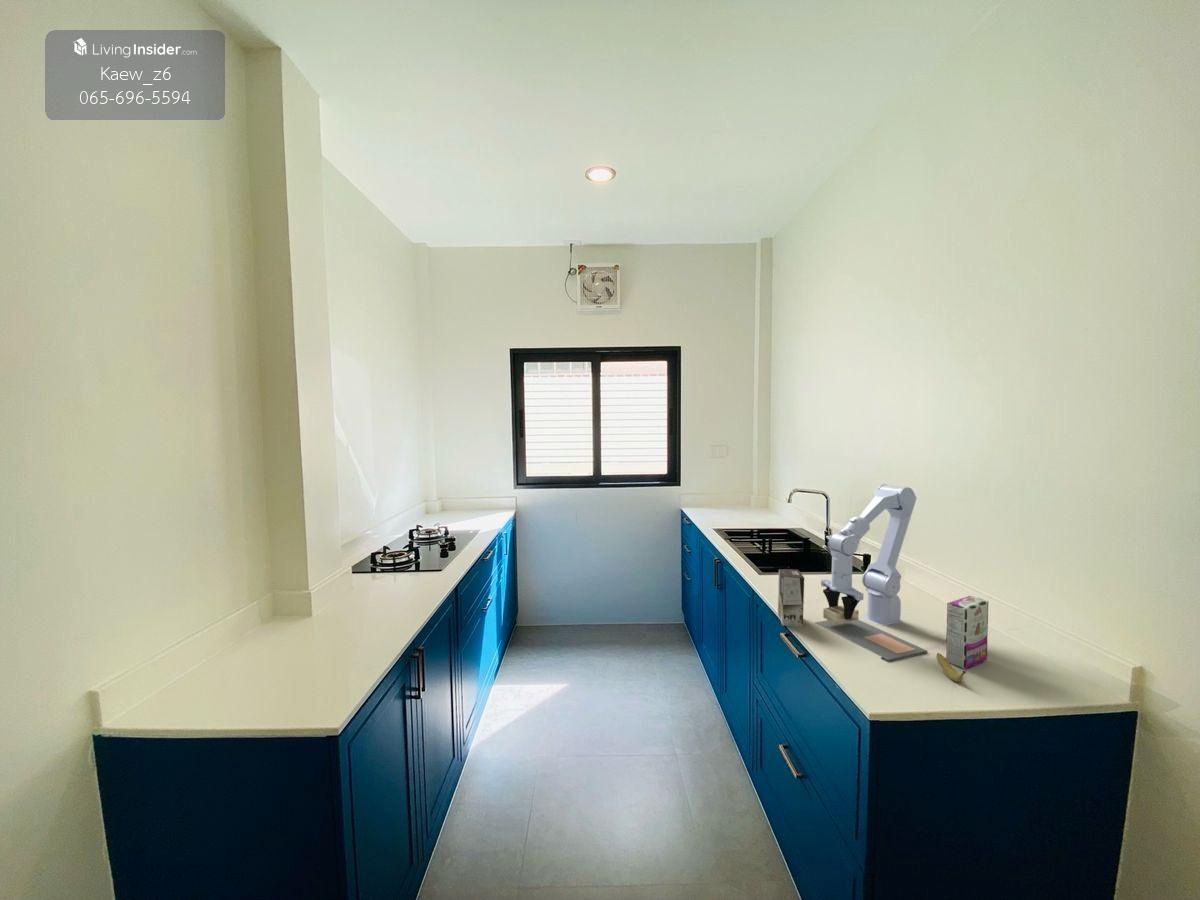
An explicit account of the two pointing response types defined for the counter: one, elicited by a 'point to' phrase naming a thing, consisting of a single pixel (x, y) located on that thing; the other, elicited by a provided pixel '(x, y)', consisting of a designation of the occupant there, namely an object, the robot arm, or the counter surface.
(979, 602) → the candy bar box
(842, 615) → the card box
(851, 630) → the mat
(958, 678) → the banana
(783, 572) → the coffee box
